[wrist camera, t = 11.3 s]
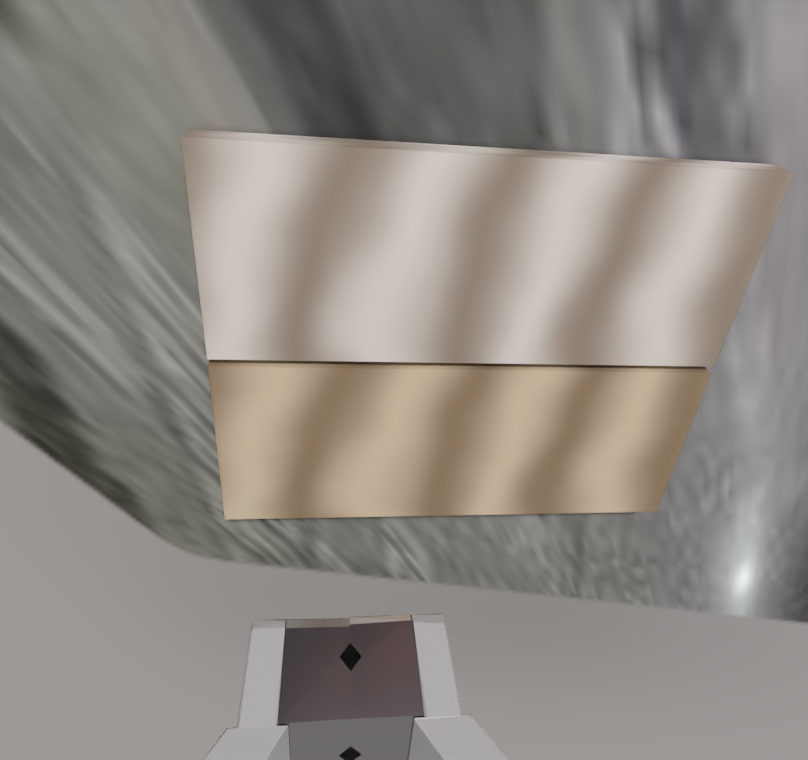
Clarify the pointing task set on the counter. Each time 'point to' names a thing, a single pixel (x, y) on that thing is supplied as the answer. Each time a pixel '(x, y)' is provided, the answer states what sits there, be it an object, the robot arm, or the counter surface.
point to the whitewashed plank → (469, 251)
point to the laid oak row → (447, 437)
